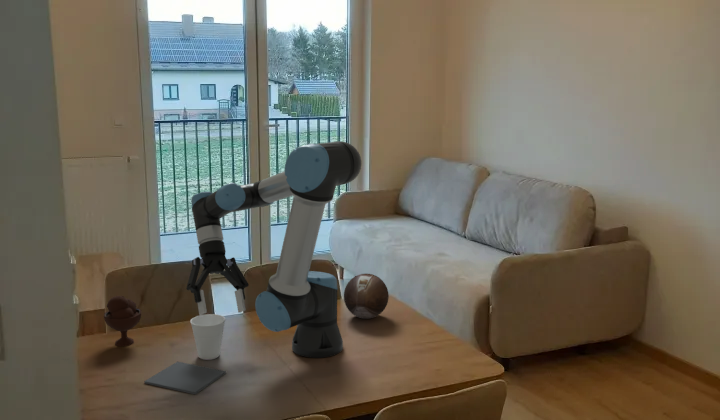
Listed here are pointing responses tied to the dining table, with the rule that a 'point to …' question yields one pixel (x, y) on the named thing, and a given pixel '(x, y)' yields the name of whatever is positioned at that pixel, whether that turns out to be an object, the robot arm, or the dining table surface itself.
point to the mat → (185, 377)
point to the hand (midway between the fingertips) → (223, 312)
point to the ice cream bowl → (122, 317)
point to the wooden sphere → (366, 296)
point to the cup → (208, 335)
